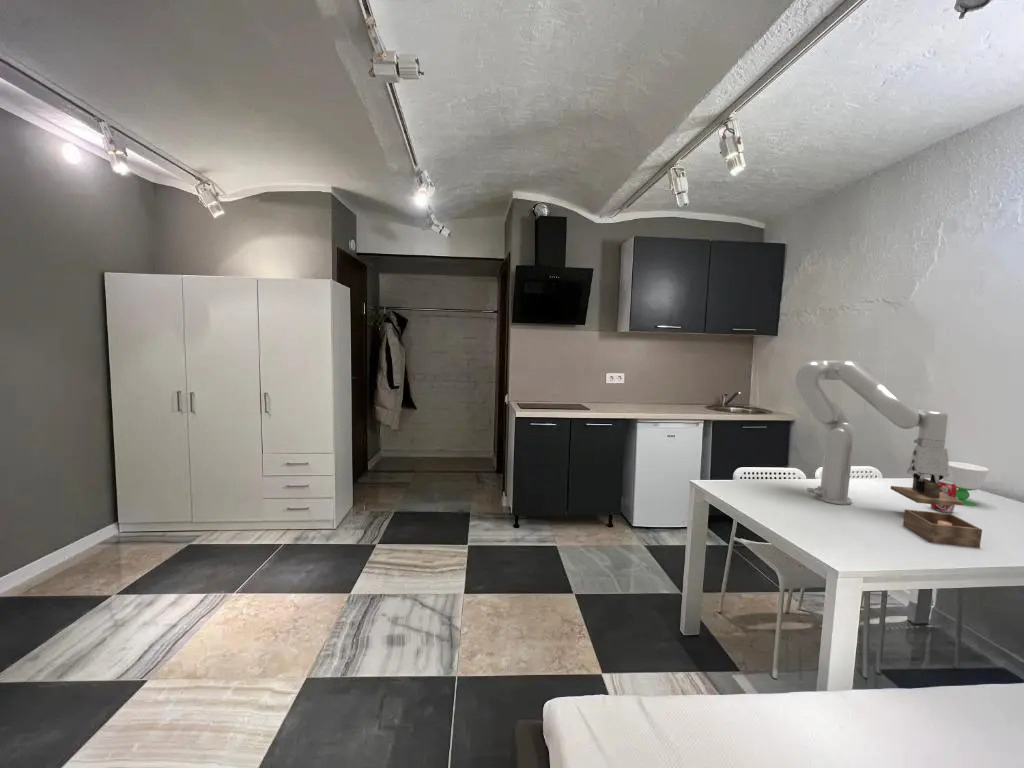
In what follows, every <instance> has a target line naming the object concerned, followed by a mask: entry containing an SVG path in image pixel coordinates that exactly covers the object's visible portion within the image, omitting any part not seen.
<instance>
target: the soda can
mask: <svg viewBox="0 0 1024 768" xmlns="http://www.w3.org/2000/svg"><path fill="white" fill-rule="evenodd" d="M937 484H940V485H941V486H940V492H942V493H944V494H946V495H949V496H951V497H953V498H955V499H956V498H957V497H956V492H957V490H958V489H957V487H956V485H955V482H952V481H948V480H946V479H941V480H940V481H939V482H938V483H937ZM955 506H956V505H953V506H948V505H937V504H930V507H931V508H932V509H933V510H934V511H937V512H939V513H947V514H951V513H952V512H953V513H954V509H955Z"/></svg>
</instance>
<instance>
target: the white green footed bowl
mask: <svg viewBox="0 0 1024 768" xmlns="http://www.w3.org/2000/svg"><path fill="white" fill-rule="evenodd" d="M989 471H990V470H989V468H987V467H984V466H982V465H977V464H972V463H967V462H959V461H948V474H949V476H948V477H945V478H946V479H945V480H948V481H952V482H955V485H956V487H957V492H956V499H957V500H960V501H962V502H964V503H963V505H962V506H967V507H969V506H970V507H974V506H976V505H977V504H976V503H975V502H973V501H971V500H968V499H969V498H970V496H971V495H970V494H971V493H970V492H969V491H971V492H972V491H977V490H979V489H980V488H981V487H982V486H983V485H984V482H985V479H986V477H987V475H988V472H989Z"/></svg>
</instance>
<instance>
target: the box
mask: <svg viewBox="0 0 1024 768" xmlns="http://www.w3.org/2000/svg"><path fill="white" fill-rule="evenodd" d="M938 520H942V521H947V522H950V523H952V526H951V525H941V524H938ZM902 522H903V523H902V526H903V527H904V528H906V529H908V531H910V532H912V533H913V534H915V535H917V536H918V537H920V538H922V539H923V540H925V541H926V542H928V543H933V544H940V545H951V546H959V547H960V546H961V547H969V548H978V549H979V548H981V542H982V541H981V540H982V534H983V529H982V528H980V527H977V526H976V525H974V524H973V523H970V522H968V521H966V520H964V519H961V518H960V517H958V516H956V515H955V514H953V513H945V512H938V511H937V512H935V511H934V512H933V511H925V510H915V509H914V510H913V509H907V508H905V509H904V514H903V521H902Z"/></svg>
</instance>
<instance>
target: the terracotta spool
mask: <svg viewBox="0 0 1024 768" xmlns="http://www.w3.org/2000/svg"><path fill="white" fill-rule="evenodd" d="M938 524H941V525H951V526H952V523H950V522H947V521H942V520H938Z"/></svg>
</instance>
